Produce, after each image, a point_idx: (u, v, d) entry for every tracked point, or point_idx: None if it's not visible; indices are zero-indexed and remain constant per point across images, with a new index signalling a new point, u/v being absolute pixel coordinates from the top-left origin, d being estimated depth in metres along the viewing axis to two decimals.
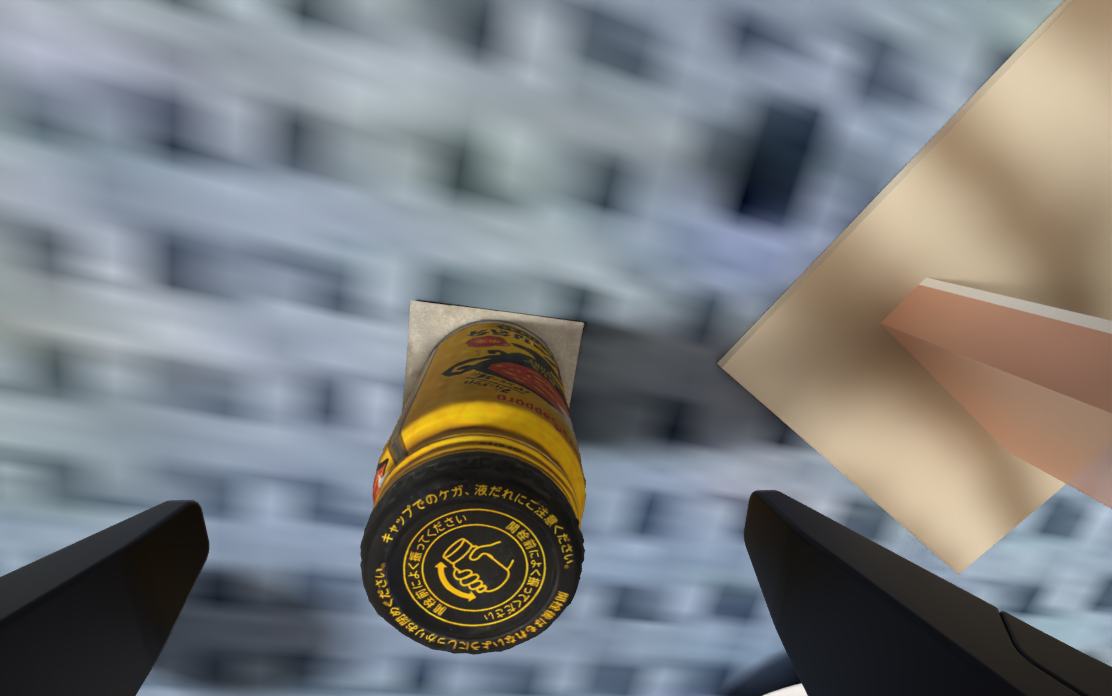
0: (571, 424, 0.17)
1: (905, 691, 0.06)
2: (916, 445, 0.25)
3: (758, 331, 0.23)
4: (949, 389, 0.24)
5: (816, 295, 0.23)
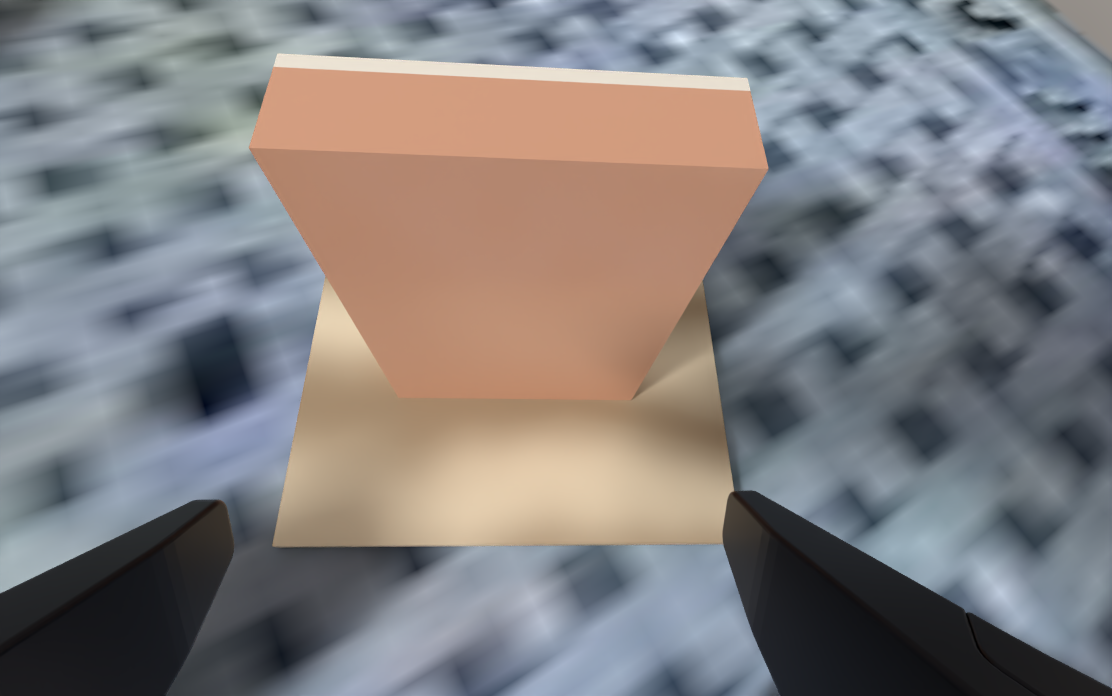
0: None
1: (871, 692, 0.06)
2: (543, 460, 0.22)
3: (285, 486, 0.21)
4: (507, 395, 0.23)
5: (318, 420, 0.22)
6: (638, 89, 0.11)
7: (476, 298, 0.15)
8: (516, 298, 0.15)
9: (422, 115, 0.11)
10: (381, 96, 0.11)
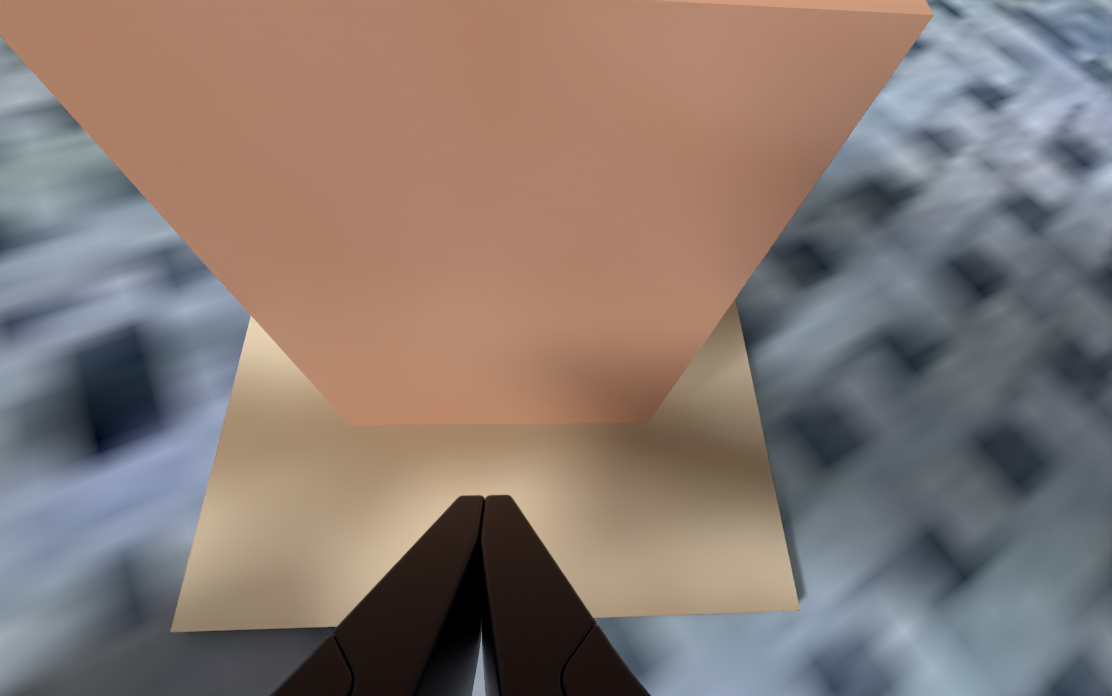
0: None
1: None
2: (536, 504, 0.17)
3: (193, 547, 0.16)
4: (490, 420, 0.18)
5: (242, 456, 0.17)
6: None
7: (429, 283, 0.10)
8: (489, 282, 0.10)
9: None
10: None
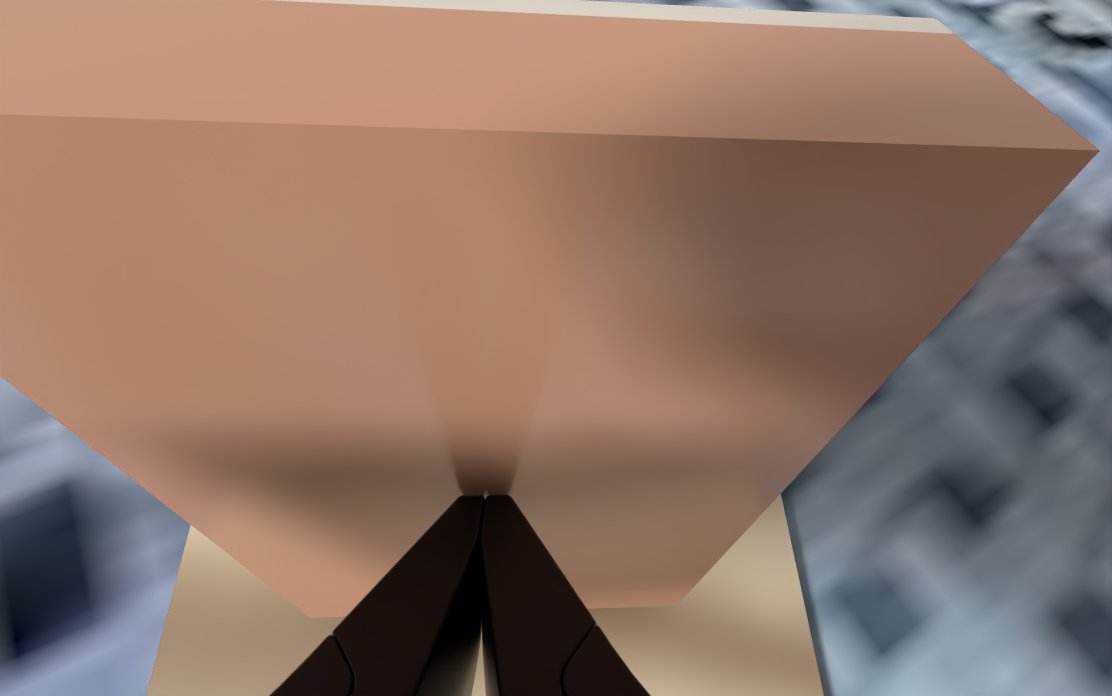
0: None
1: None
2: None
3: None
4: None
5: (186, 667, 0.14)
6: (724, 27, 0.05)
7: (403, 473, 0.08)
8: (481, 471, 0.08)
9: (219, 54, 0.04)
10: (130, 25, 0.04)
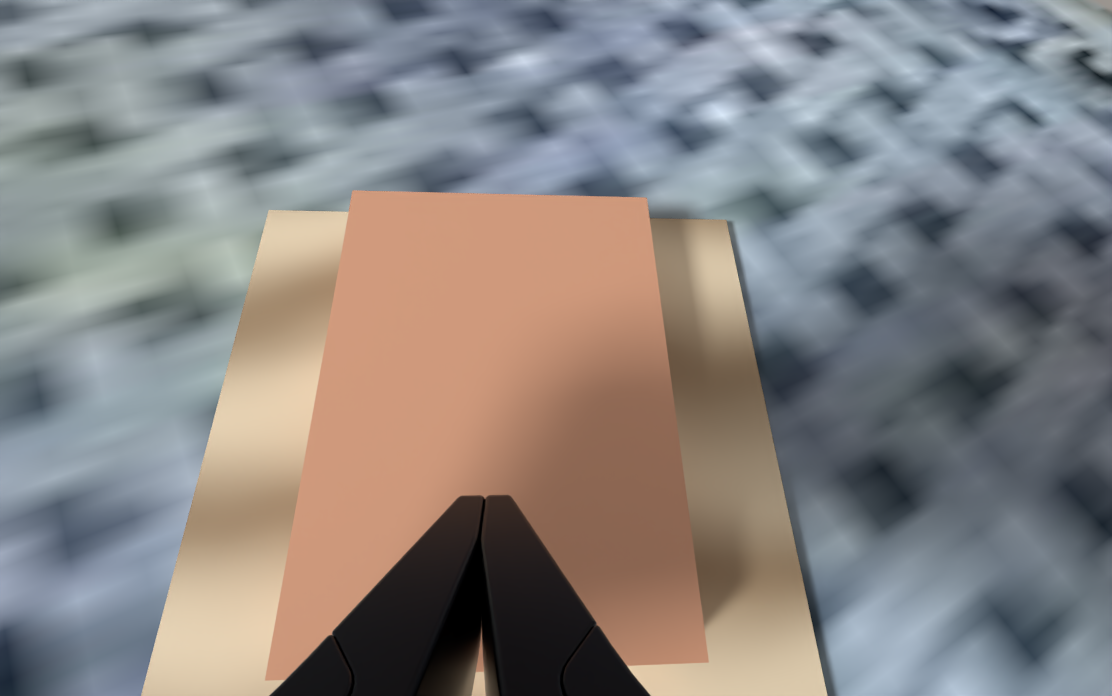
0: None
1: None
2: None
3: None
4: None
5: None
6: None
7: (460, 335, 0.16)
8: (499, 333, 0.16)
9: None
10: None
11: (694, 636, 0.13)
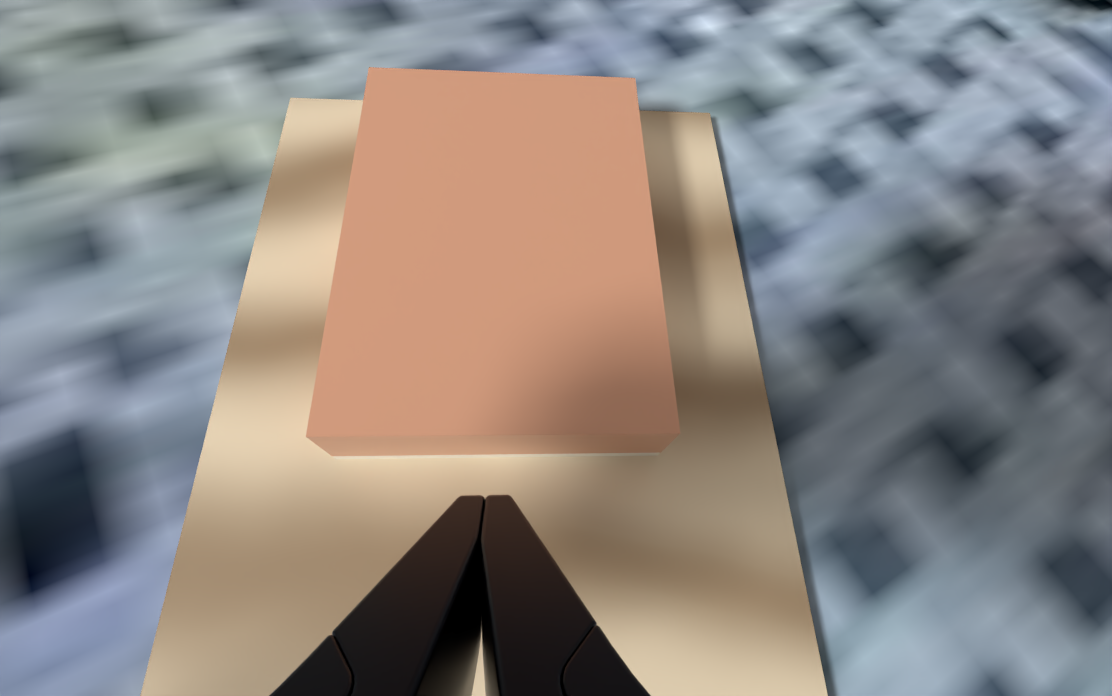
0: None
1: None
2: None
3: None
4: (484, 419, 0.14)
5: (196, 602, 0.14)
6: None
7: (467, 184, 0.18)
8: (502, 183, 0.18)
9: None
10: None
11: (668, 414, 0.15)
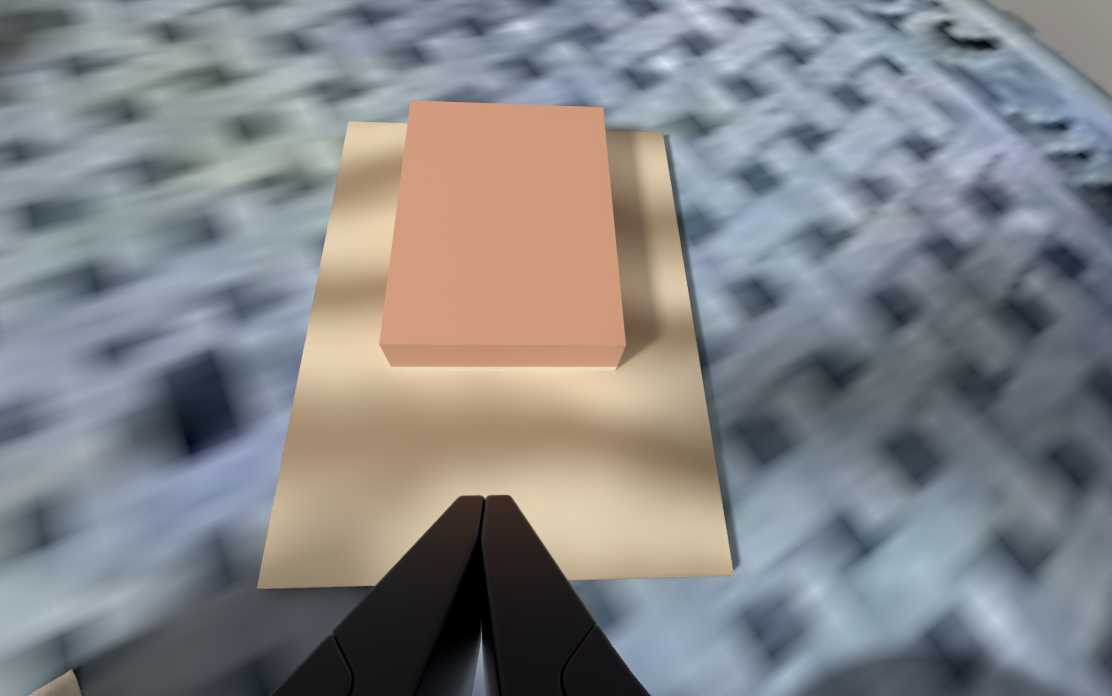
0: None
1: None
2: (532, 494, 0.22)
3: (270, 526, 0.21)
4: (495, 334, 0.22)
5: (304, 456, 0.22)
6: None
7: (482, 182, 0.25)
8: (506, 182, 0.25)
9: None
10: None
11: (618, 333, 0.22)
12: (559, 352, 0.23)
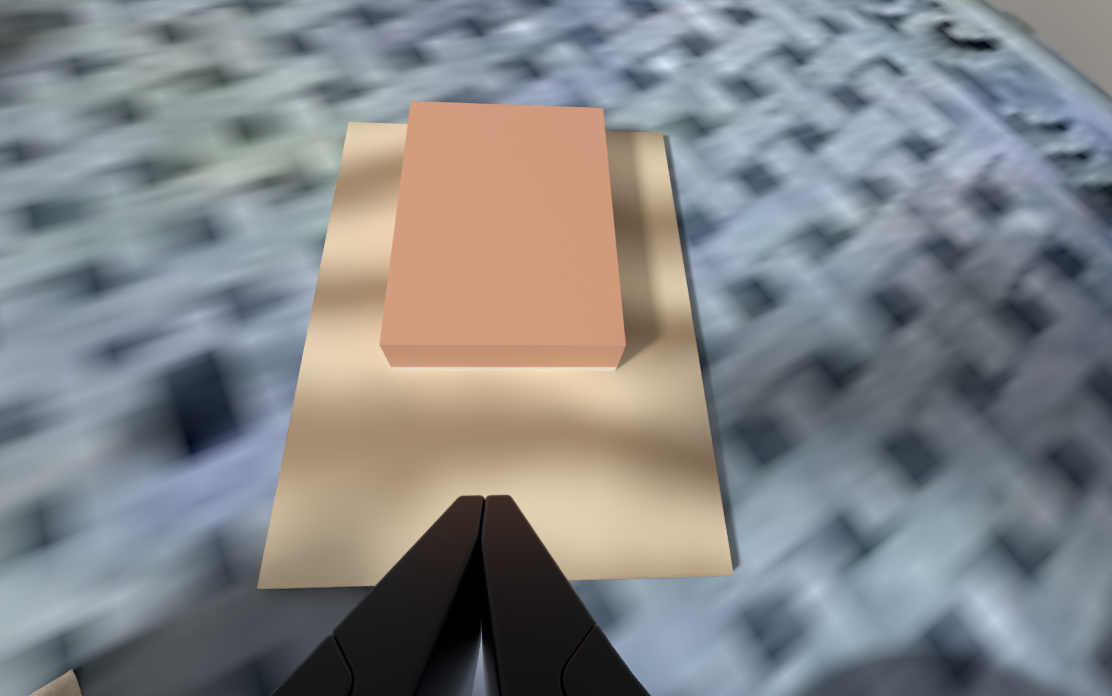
0: None
1: None
2: (532, 494, 0.22)
3: (270, 526, 0.21)
4: (495, 335, 0.22)
5: (304, 457, 0.22)
6: None
7: (482, 183, 0.25)
8: (506, 183, 0.25)
9: None
10: None
11: (618, 333, 0.22)
12: (559, 352, 0.23)
